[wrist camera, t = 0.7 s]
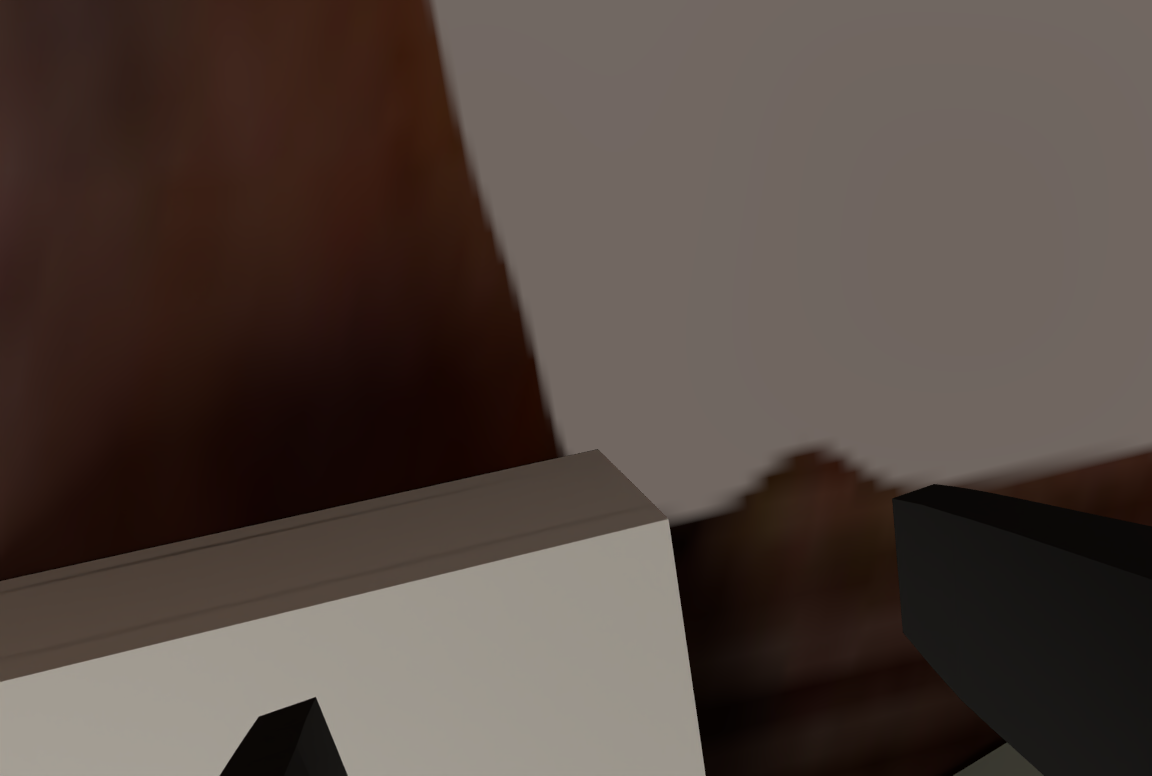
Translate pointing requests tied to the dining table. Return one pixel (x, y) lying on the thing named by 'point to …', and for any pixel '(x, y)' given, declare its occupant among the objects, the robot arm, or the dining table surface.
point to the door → (1001, 764)
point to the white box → (371, 638)
